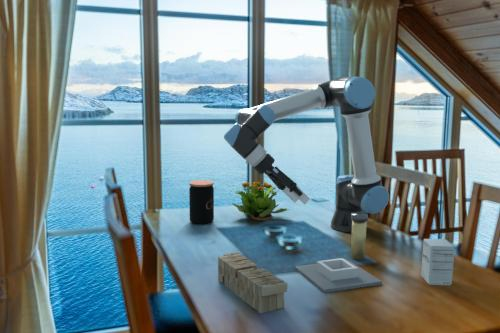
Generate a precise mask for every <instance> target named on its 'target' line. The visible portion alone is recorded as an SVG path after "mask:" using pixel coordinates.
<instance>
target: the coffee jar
mask: <svg viewBox="0 0 500 333" xmlns="http://www.w3.org/2000/svg"><path fill="white" fill-rule="evenodd" d="M214 189H215V188H214V181H212V180H205V179H202V180H200V179H199V180H191V181H189V190H188V191H189V193H188V194H189V195H188V196H189V197H188V198H189V222H190V223H191V224H192V225H194V226H195V225H196V226H206V225H211V224H212V223H213V222H214V220H215V215H214V214H215V213H214V212H215V207H214V206H215V203H214V202H215V190H214Z"/></svg>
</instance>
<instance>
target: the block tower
mask: <svg viewBox="0 0 500 333" xmlns="http://www.w3.org/2000/svg"><path fill="white" fill-rule="evenodd" d="M217 264H218V266H217V272H218V273H217V274H218V276H217V280H218V281H219V282H220V283H223V284H224V286H225V287H227V288H228V289H229V290H230V291H231V292H233V294H235V295H236V296H237V297H238V298H241V299H242V300H243V302H245V303H246V304H247V305H249V306H251V308H253V309H254V310H256V311H257V312H258V313H259V314H264V313H268V312H271V311H276V310H278V309H279V310H280V309H283V308H285V293H288V282H286V281H285V280H283V279H281V278H279V277H277V276H276V275H274V274H273V273H271V272H270V271H267V269H265V268H264V267H263V268H258V264H256V263H255V262H253V261H251V260H250V259H248V257H246V256H244V255H242V254H241V253H240V252H239V251H235V252H234V251H233V252H230V253H224V254H223V256H218V257H217Z"/></svg>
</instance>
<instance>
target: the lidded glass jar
mask: <svg viewBox="0 0 500 333" xmlns="http://www.w3.org/2000/svg"><path fill="white" fill-rule="evenodd" d="M351 220H352V232H350V233H351V235H350V236H351V237H350V255H349V256H350V257H351V258H352V259H351V258H350V259H351V260H354V261H364V260H365V259H366V242H367V228H366V225H367V223H368V221H369V213H366V212H364V211H363V212H353V213H351Z"/></svg>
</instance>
